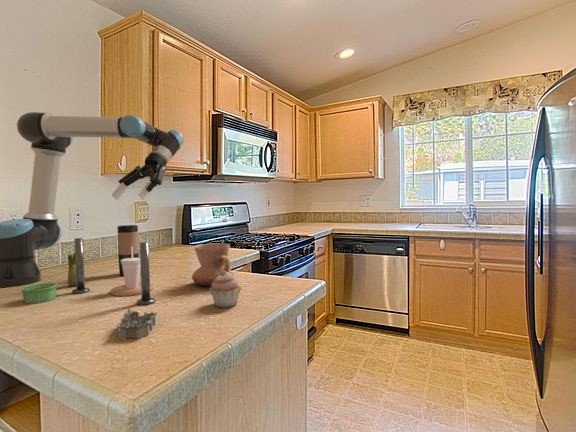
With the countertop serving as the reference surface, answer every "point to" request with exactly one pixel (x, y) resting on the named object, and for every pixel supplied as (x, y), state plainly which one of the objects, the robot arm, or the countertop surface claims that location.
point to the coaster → (127, 290)
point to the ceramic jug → (211, 263)
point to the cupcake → (225, 290)
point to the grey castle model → (135, 324)
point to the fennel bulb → (72, 270)
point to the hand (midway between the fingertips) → (127, 197)
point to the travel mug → (127, 243)
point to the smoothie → (131, 271)
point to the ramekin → (39, 293)
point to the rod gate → (143, 263)
